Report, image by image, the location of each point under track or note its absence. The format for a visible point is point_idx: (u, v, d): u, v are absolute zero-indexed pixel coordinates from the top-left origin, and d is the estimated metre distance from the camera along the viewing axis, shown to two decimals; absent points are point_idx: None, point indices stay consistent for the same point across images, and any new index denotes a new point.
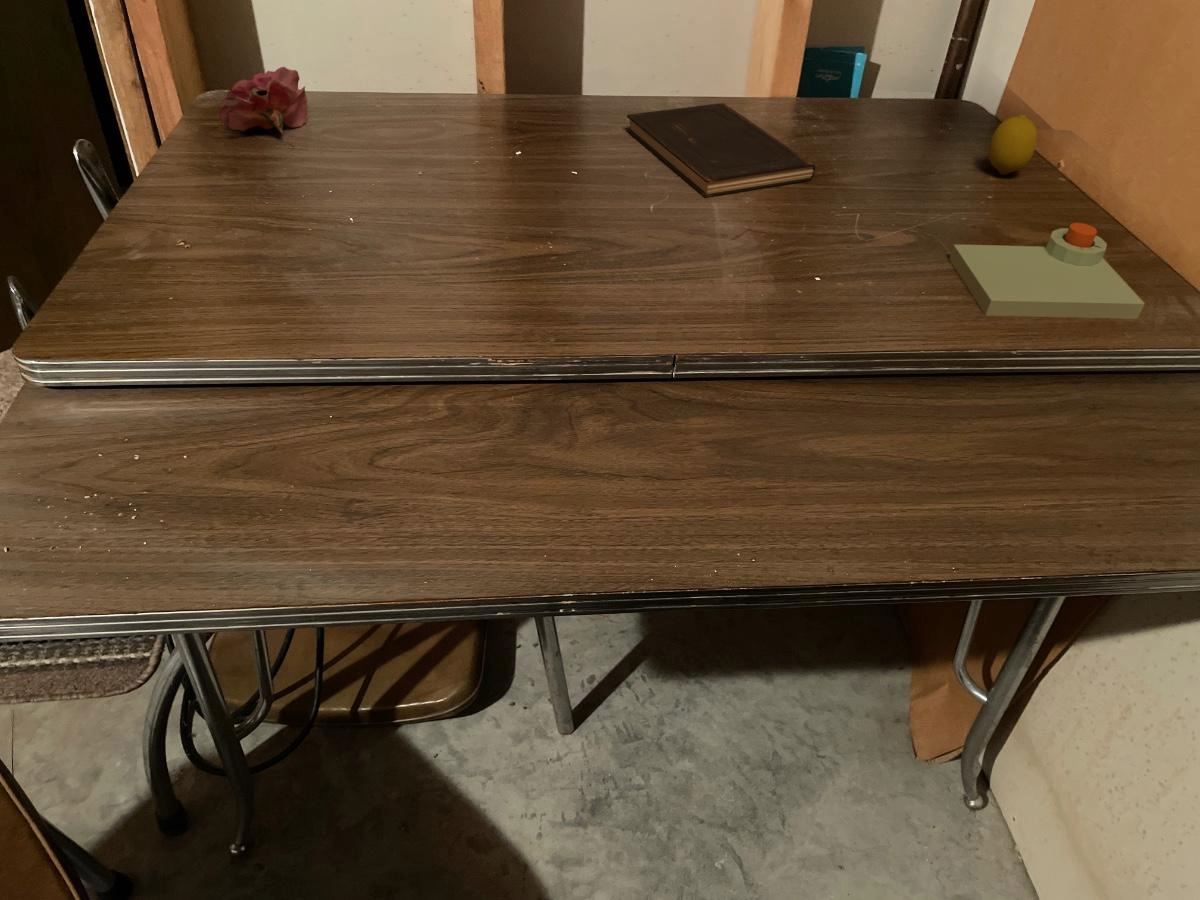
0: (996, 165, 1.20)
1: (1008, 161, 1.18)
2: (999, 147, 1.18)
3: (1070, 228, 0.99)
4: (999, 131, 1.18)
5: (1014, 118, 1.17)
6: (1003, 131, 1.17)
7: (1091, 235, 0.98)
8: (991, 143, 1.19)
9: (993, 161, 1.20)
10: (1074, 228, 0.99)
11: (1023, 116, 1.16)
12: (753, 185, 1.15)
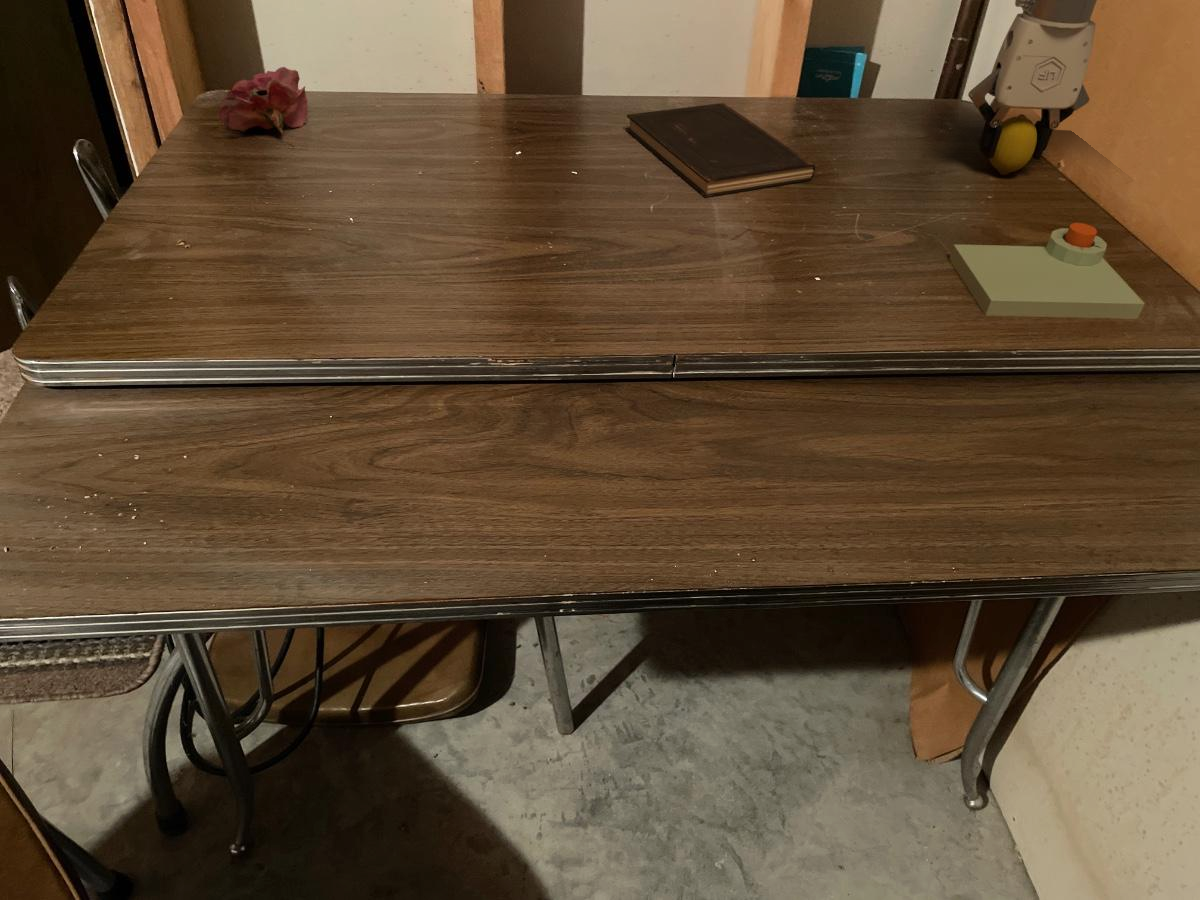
0: (996, 165, 1.20)
1: (1008, 161, 1.18)
2: (999, 147, 1.18)
3: (1070, 228, 0.99)
4: None
5: (1014, 118, 1.17)
6: (1002, 131, 1.17)
7: (1091, 235, 0.98)
8: None
9: (993, 161, 1.20)
10: (1074, 228, 0.99)
11: (1023, 116, 1.16)
12: (753, 185, 1.15)
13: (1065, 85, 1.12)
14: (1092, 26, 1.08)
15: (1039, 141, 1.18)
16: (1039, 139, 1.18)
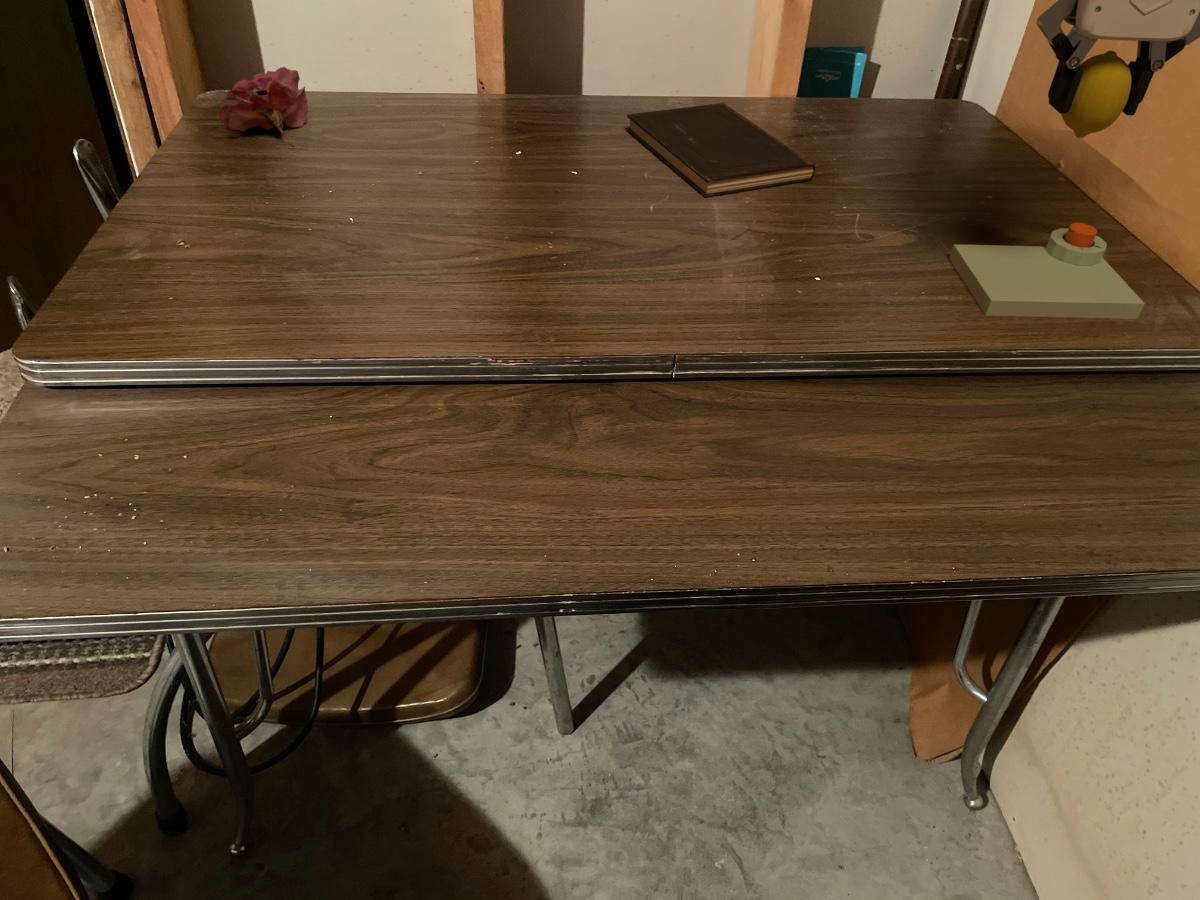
0: (1072, 124, 0.86)
1: (1090, 117, 0.84)
2: (1077, 97, 0.84)
3: (1070, 228, 0.99)
4: None
5: (1100, 56, 0.83)
6: (1083, 75, 0.83)
7: (1091, 235, 0.98)
8: None
9: (1068, 118, 0.86)
10: (1074, 228, 0.99)
11: (1113, 53, 0.83)
12: (753, 185, 1.15)
13: (1179, 5, 0.78)
14: None
15: (1134, 89, 0.84)
16: (1134, 86, 0.84)
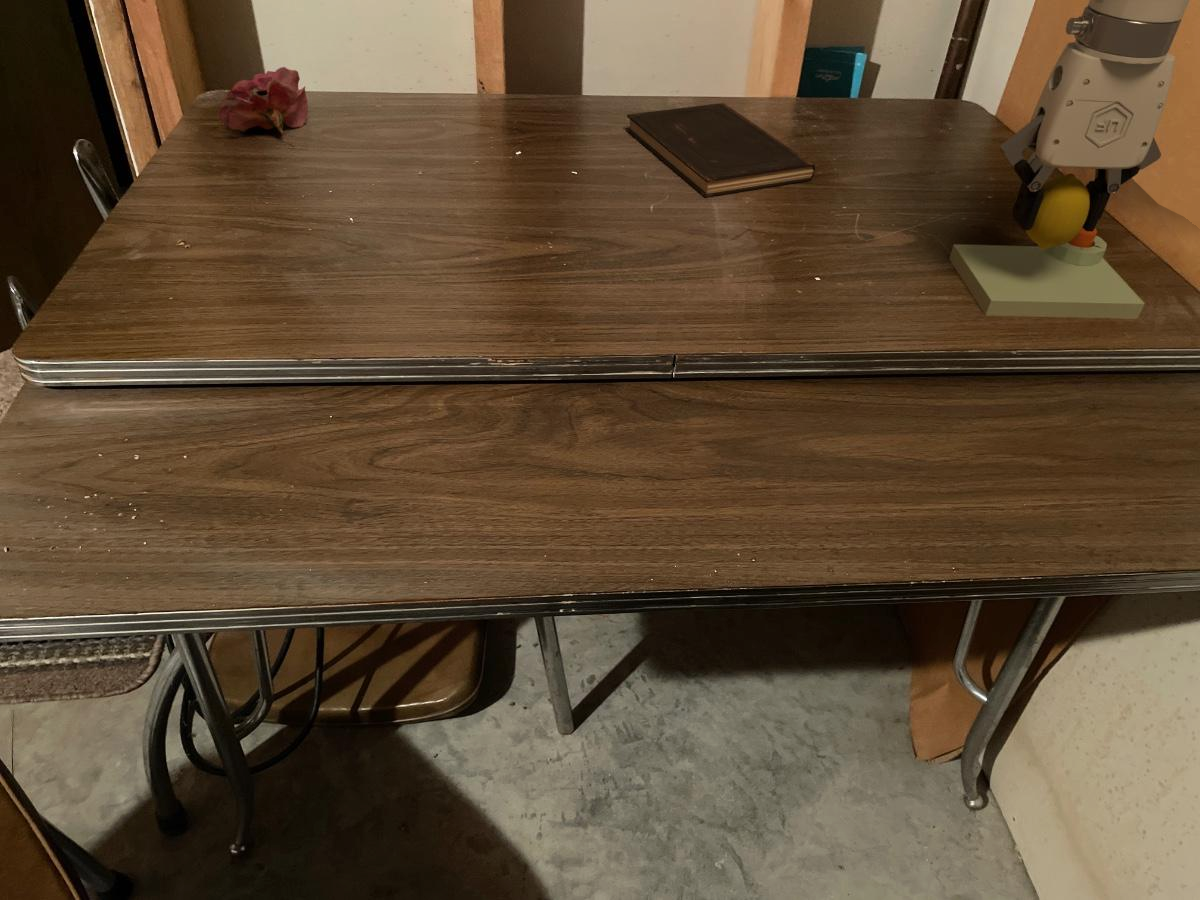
0: (1035, 238, 0.91)
1: (1051, 234, 0.90)
2: (1039, 216, 0.89)
3: None
4: None
5: (1060, 179, 0.89)
6: (1044, 196, 0.89)
7: (1091, 235, 0.98)
8: None
9: (1031, 233, 0.91)
10: None
11: (1072, 176, 0.88)
12: (753, 185, 1.15)
13: (1131, 138, 0.83)
14: (1171, 61, 0.79)
15: (1093, 208, 0.89)
16: (1093, 206, 0.89)
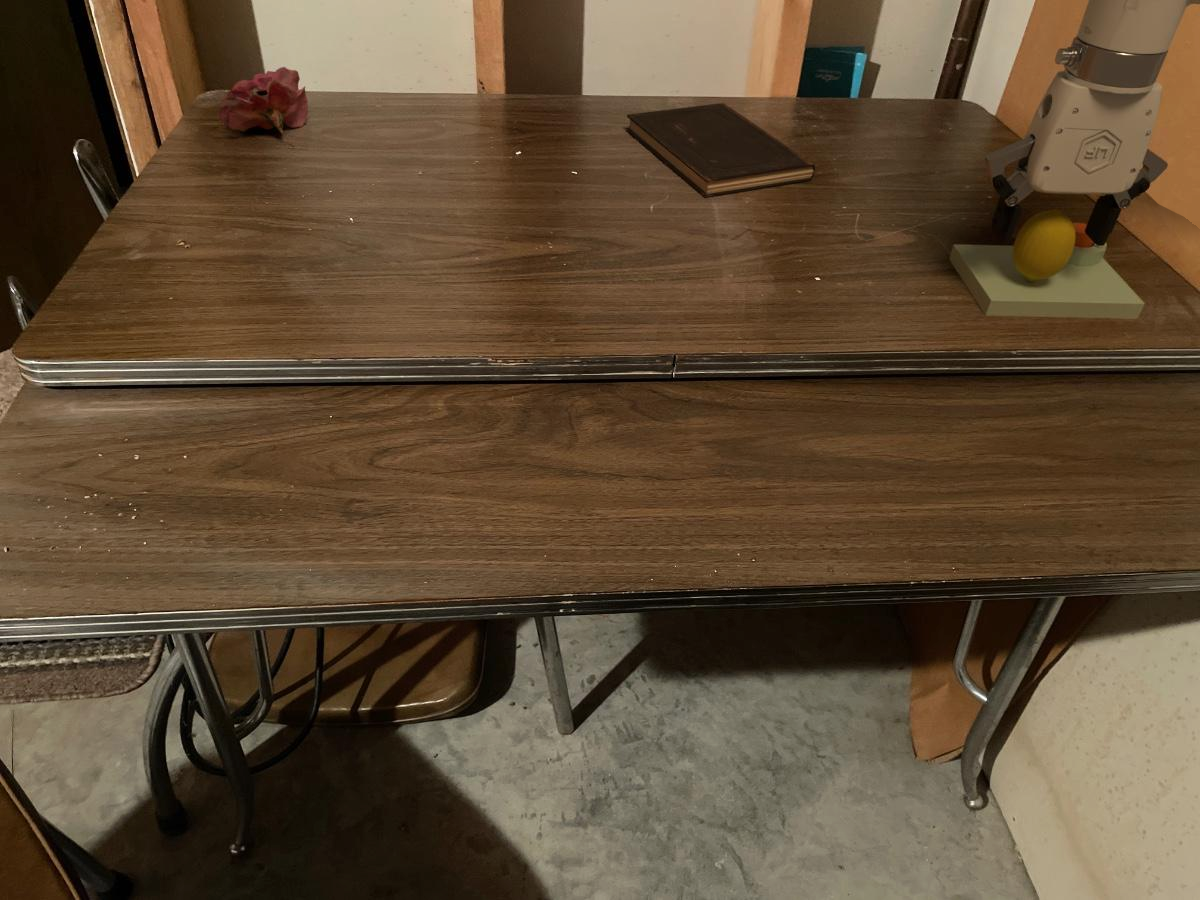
0: (1022, 271, 0.94)
1: (1038, 267, 0.92)
2: (1026, 250, 0.92)
3: None
4: (1026, 230, 0.92)
5: (1046, 214, 0.91)
6: (1031, 231, 0.91)
7: None
8: (1016, 244, 0.93)
9: (1019, 266, 0.94)
10: None
11: (1058, 212, 0.90)
12: (753, 185, 1.15)
13: (1120, 165, 0.85)
14: (1158, 90, 0.81)
15: (1104, 223, 0.90)
16: (1104, 220, 0.90)
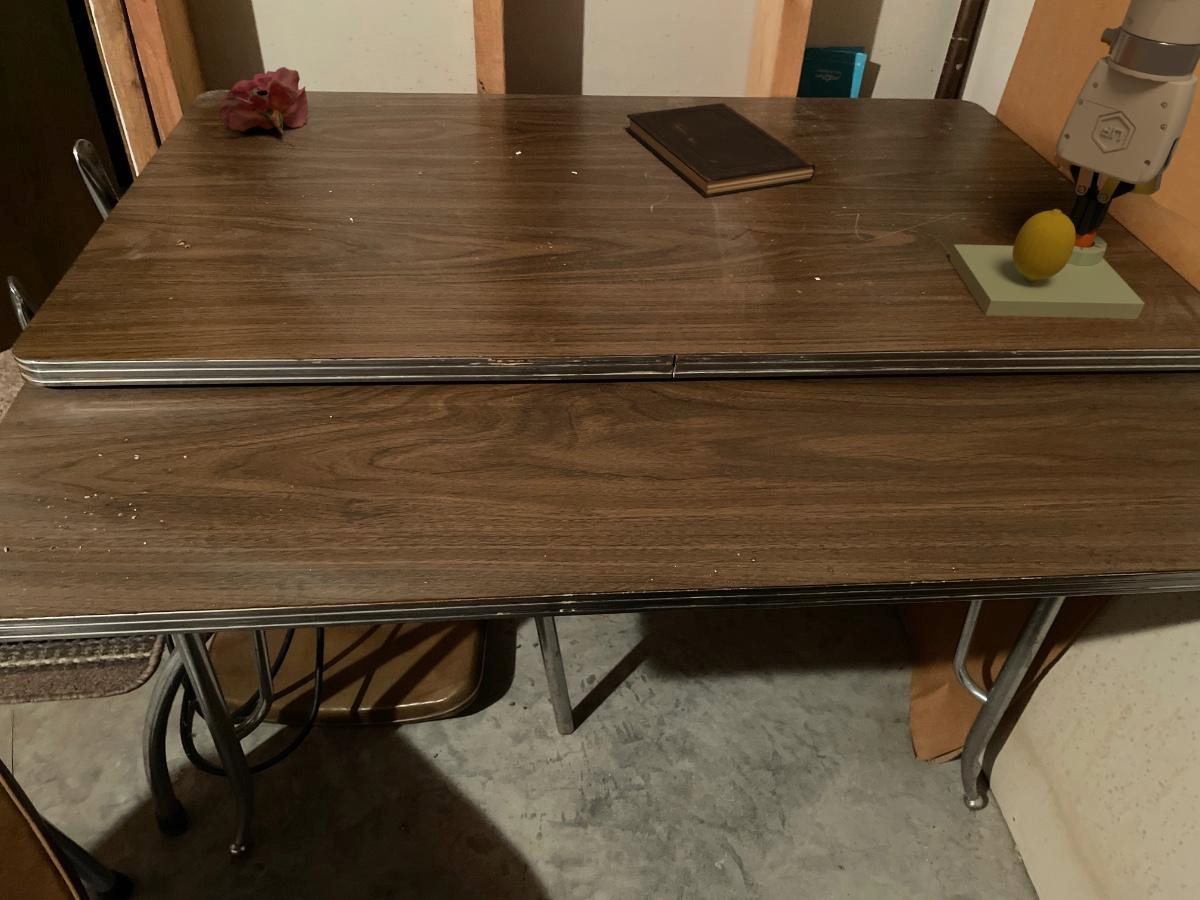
0: (1022, 271, 0.94)
1: (1038, 267, 0.92)
2: (1026, 249, 0.92)
3: None
4: (1026, 230, 0.92)
5: (1046, 214, 0.91)
6: (1032, 231, 0.91)
7: (1090, 237, 0.98)
8: (1016, 244, 0.93)
9: (1019, 266, 0.94)
10: None
11: (1058, 212, 0.90)
12: (753, 185, 1.15)
13: (1134, 152, 0.90)
14: (1177, 84, 0.85)
15: (1085, 213, 0.97)
16: None
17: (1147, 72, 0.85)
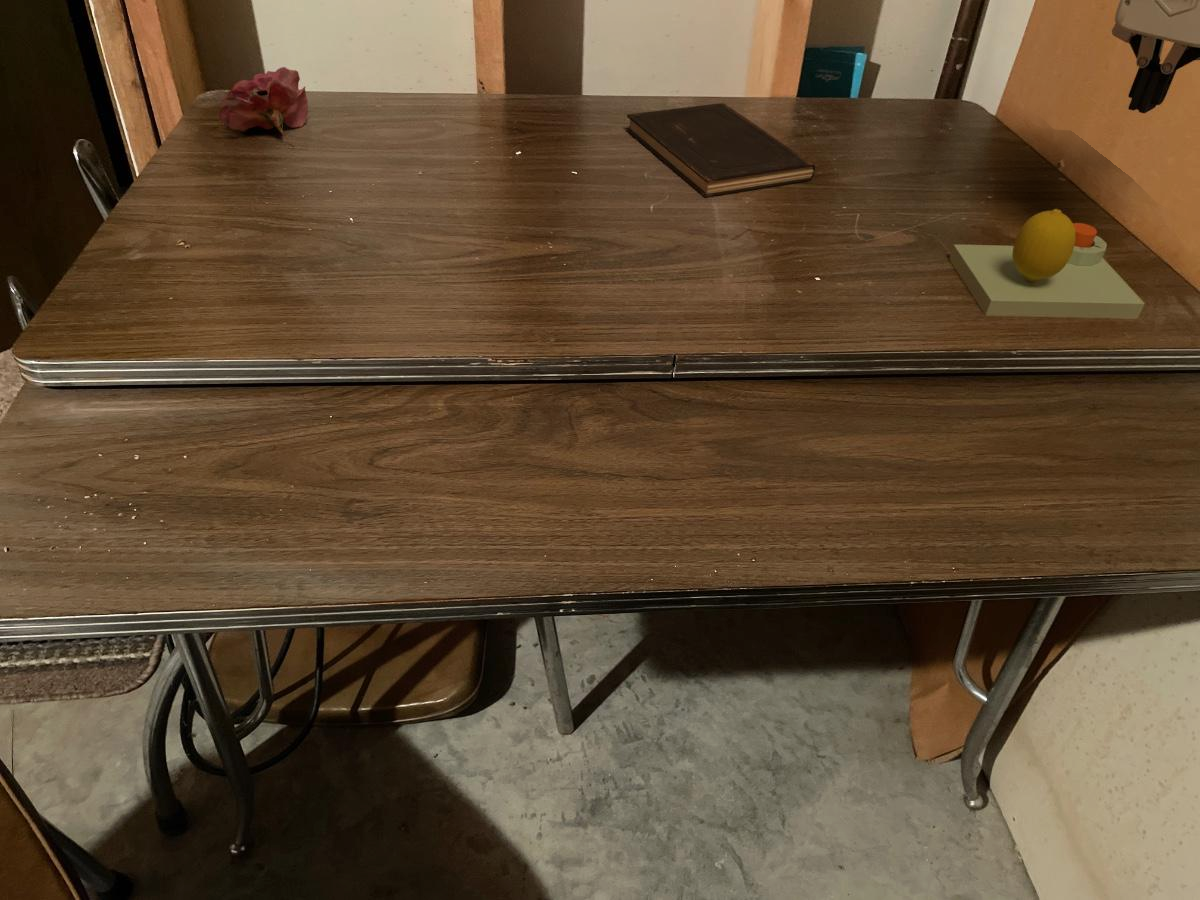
0: (1022, 271, 0.94)
1: (1038, 267, 0.92)
2: (1026, 249, 0.92)
3: None
4: (1026, 230, 0.92)
5: (1046, 214, 0.91)
6: (1031, 230, 0.91)
7: (1091, 235, 0.98)
8: (1016, 244, 0.93)
9: (1019, 266, 0.94)
10: None
11: (1058, 212, 0.90)
12: (753, 185, 1.15)
13: None
14: None
15: None
16: None
17: None
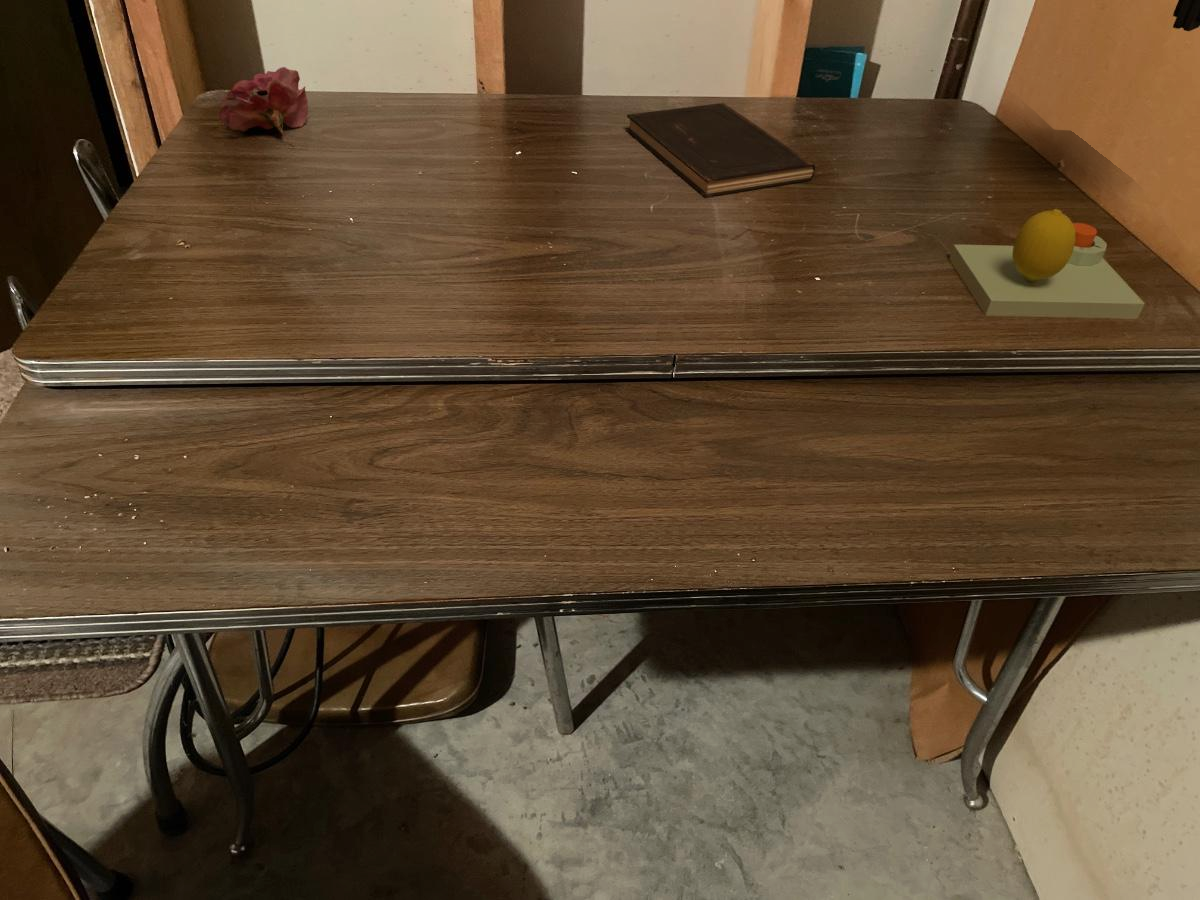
0: (1022, 271, 0.94)
1: (1038, 267, 0.92)
2: (1026, 249, 0.92)
3: None
4: (1026, 230, 0.92)
5: (1046, 214, 0.91)
6: (1032, 231, 0.91)
7: (1091, 235, 0.98)
8: (1016, 244, 0.93)
9: (1019, 266, 0.94)
10: None
11: (1058, 212, 0.90)
12: (753, 185, 1.15)
13: None
14: None
15: (1192, 5, 0.93)
16: None
17: None
